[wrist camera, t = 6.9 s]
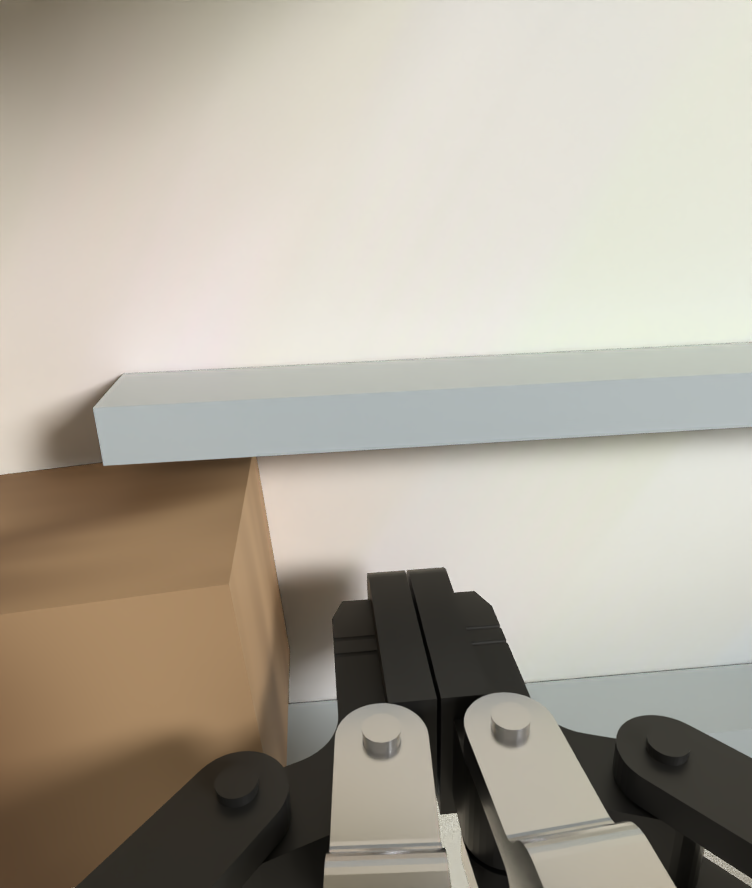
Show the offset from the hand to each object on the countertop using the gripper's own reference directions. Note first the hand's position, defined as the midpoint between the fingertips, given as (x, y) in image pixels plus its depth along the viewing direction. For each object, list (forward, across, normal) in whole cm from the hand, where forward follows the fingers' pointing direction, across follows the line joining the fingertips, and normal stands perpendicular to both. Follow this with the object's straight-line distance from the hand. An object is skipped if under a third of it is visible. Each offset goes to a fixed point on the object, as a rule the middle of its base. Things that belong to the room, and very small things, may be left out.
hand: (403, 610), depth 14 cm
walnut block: (+2, +6, 0) cm, 7 cm away
